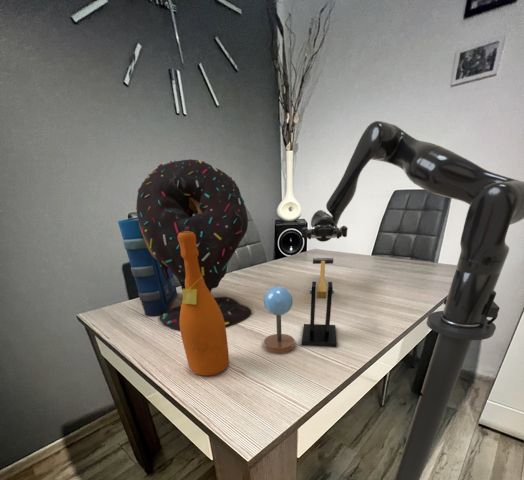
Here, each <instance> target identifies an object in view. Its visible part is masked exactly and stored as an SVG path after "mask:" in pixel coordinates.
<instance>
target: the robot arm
mask: <svg viewBox="0 0 524 480" xmlns="http://www.w3.org/2000/svg"><path fill="white" fill-rule="evenodd" d="M371 160H372V161H376V162H383V163H387V164H390V165H393V166H395V167H398V168H400V169H401V170H402V171H403V172H404V174H405V175H406V177H407V178H408V180H409V181H410V182H412V183H413V184H414V185H415V186H418V187H419V188H421V189H423V190H425V191H427V192H429V193H431V194H434V195H437V196H440V197H444V198H449V199H453V200H457V201H460V202H463V203H465V204H468V205H469V206H468V210H467V212H466V216H465V220H464V223H463V228H462V232H461V236H460V254H459V257H458V261H457V263H456V268H455V271H454V274H453V277H452V281H451V284H450V287H449V290H448V294H447V297H446V298H445V299H444V301H443V305H444V307H443V310H442V311H443V313H442V316H441V320H442V321H443V322H444V323H446V324H448V325H451V326H454V327H459V328H468V329H471V328H478V327H480V328H483V327H484V324H485V321H486V319H488V318H491V319H489V320H490V321H488V322H487V324H489V325H490V324H491V323H492V322H493V323H494V322H495V321H496V320H497V319H498V316H499V312H500V309H501V308H500V306H499V305H498V304H497V303H496V302H495V298H496V296H497V292H496V291H495V289H496V287H497V284H498V281H499V278H500V275H501V273H502V271H503V268H504V265H505V262H506V260H507V258H508V255H509V252H510V247H509V245H508V244H506V243H507V242H506V238H507V234H508V231H509V228H510V226H511V225H513V224H517V223H519V222H521V221H523V220H524V181H522V180H519V179H515V178H511V177H509V176H504V175H501V174H498V173H495V172H493V171H490V170H487V169H486V168H483V167H481V166H480V165H478V164H476V163H474V162H473V161H471V160H469V159H467V158H465V157H463V156H461V155H460V154H457V153H456V152H454V151H453V150H450V149H448V148H445V147H443V146H441V145H438V144H435V143H432V142H428V141H423V140H419V139H417V138H415V137H413V136H411V134H408V133H407V132H406V131H404V130H403V129H402V128H400V127H399V126H397V125H396V124H392V123H390V122H385V121H383V120H375V121H373V122H371V123H370V124H369V125H368V126H367V127H366V128H365V130H364V131H363V133H362V135H361V137H360V138H359V140H358V143H357V144H356V147H355V149H354V152H353V153H352V156H351V157H350V160H349V162H348V164H347V166H346V169H345V171H344V173H343V175H342V176H341V179H340V181H339V182H338V184H337V186H336V188H335V189H334V191H333V193H332V194H331V195H330V197H329V198H328V200H327V202H326V204H325V207H326V210H327V211H328V213H327V212H326V211H325V210H324V209H323V210H322V209H319V210H317V211H316V212H314V214H313V215H312V217H311V219H310V226H311V228H309V227H307V226H304V227H302V228H301V239H305V238H307V239H308V240H311V239H316V241H319V242H322V243H323V242H324V243H325V242H328V241H330V240H332V239H336V240H338V239H339V240H340V238H342V237H343V238H346V237H348V229H349V228H348V227H347V226H346V225H342V226H340V227H338V225H339V221H340V219H341V216H342V215H343V213H344V211H346V209H347V207H348V205H349V204H350V203H351V201H352V200H353V198H354V197H355V194H356V191H357V187H358V181H359V178H360V175H361V173H362V171H363V170H364V168H365V167H366V166H367V164H368V163H369V162H370V161H371Z"/></svg>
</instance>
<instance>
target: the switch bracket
mask: <svg viewBox="0 0 524 480" xmlns="http://www.w3.org/2000/svg"><path fill="white" fill-rule="evenodd" d="M334 294H335V288H333V281H328V282H327V290H326V309H325V322H324V324H319V323H318V324H316V323H315V318H316V317H315V316H316V298H317V281H312V282H311V287H310V288H309V295H310V317H309V318H310V319H309V320H310V321H309V322H310V323H303V328H302V334H301V335H302V336H301V342H300V345H301V346H305V347H307V346H308V347H325V348H326V347H328V348H337V346H338V339H337V329H336V327H337V325H336V324H331V313H332V301H333V299H332V298H333V295H334Z"/></svg>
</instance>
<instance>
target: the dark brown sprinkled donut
mask: <svg viewBox="0 0 524 480" xmlns="http://www.w3.org/2000/svg"><path fill="white" fill-rule="evenodd" d="M135 210H136V217H138V220H139V227H140V230H141V233H142V235H143V238H144V240H145V243H146V245H147V248H148V249H149V251H150V253H151V254H152V256H153V257H154V258H155V259H156V260H157V261H158V262H159V264H160V266H161V267H162V269H163V270H164V271H165V273H166V278H167V279H169V275H168V272H167V269H168V268H170V270H171V272H172V273H173V276H175V278H176V279H177V281H178V283H179V284H180V288H181V290H182V291H183V289H185V279H186V271H185V263H184V258H182V256H181V249H180V244H179V241H178V234H179V233H181V232H184V231H191V232H193V233H194V234H195V236H196V245H197V250H198V253H199V255H198V257H197V259H198V264H199V268H200V272H201V274H202V276H203V279H204V282H205V285H206V286H207V288H208V290H209V291H210V293H211V294H212V290H213V289H216V288H218V286H219V284H220V282H221V281H222V279H224V277H225V275H226V274H227V272H228V271H227V270H228V265H229V261H230V260H231V259H232V257H233V255H234V254H235V252H236V251H237V249H238V247H239V246H240V244H241V242H242V241H243V238H244V237H245V235H246V233H247V231H248V226H249V216H248V212H247V208H246V204H245V199H243V197H242V194H241V191H240V189H239V185H238V184H237V182H236V181H235V180H233V178H232V177H231V176H229V174H227V173H226V172H224V170H221V169H219V168H217V167H215V166H214V165H211V164H210V163H207V162H205V161H204V160H199V159H191V158H189V159H181V160H173V161H172V160H170V162H167V163H164V164H162V163H160V164H158V165H157V167H156V168H155V169H154V170H152V172H151V173H148V175H146V178H144V181H141V185H140V186H139V188H138V189H137V196H136V207H135ZM213 298H214V299H215V301H216V302H217V304H218V306H219V308H220V310H221V312H222V315H223V318H224V322H225V327H230V326H232V325H235V324H237V323H240V322H242V321H245V320H246V319H248V318H249V317H250V316H251V315H252V310H251V308H250V307H249V306H246V305H244V304H241V303H239V302H238V301H237V300H235V299H234V298H232V297H228V296H217V297H213ZM180 310H181V305H180V306H177V307H174V308H173V307H172V308H171V309H168V310H167V311H166V312H165V313H163V314H160V315H159V321H160V322H161V324H162V325H163V326H166V327H168V328H170V329H172V330H176V331H180V323H179V320H180Z"/></svg>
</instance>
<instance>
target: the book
mask: <svg viewBox="0 0 524 480" xmlns="http://www.w3.org/2000/svg"><path fill="white" fill-rule="evenodd" d="M117 223H118V228H119V230H120V233H121V238H122V243H123V246H124V250H125V251H126V254H127V258H128V261H129V265H130V271H131V274H132V277H133V278H134V281H135V285H136V288H137V294H138V297H139V301H140V302H141V305H142V309H143V313H144V315H145V316H147V317H151V316H152V317H153V316H161V315H162V314H163V313H165V312H166V311H168V310H169V308H170V307H171V304H172V303H173V302H174V300H175V298H176V297H177V296H178V290H177V286H176V282H175V281H176V280H175V277H174V274H173V273H172V272H171V270H170V268H168V269H167V272H168V275H169V279H167V278H166V273H165V271H164V270H163V269H162V267H161V266H160V264H159V262H158V261H157V260H156V259H155V258H154V257H153V256H152V254H151V253H150V251H149V249H148V248H147V245H146V243H145V240H144V238H143V235H142V233H141V230H140V227H139V220H138V216H136V217H135V216H134V217H131V218H126V219H120V220H117Z"/></svg>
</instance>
